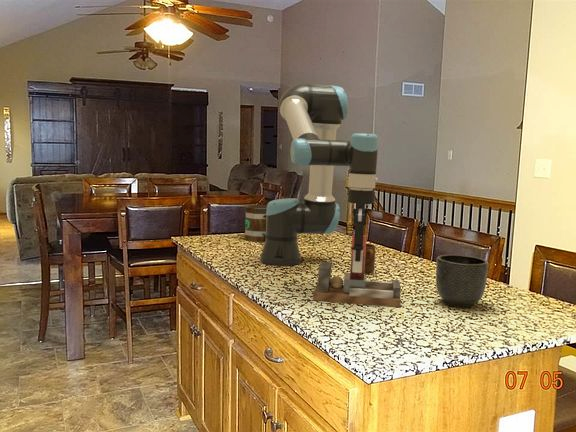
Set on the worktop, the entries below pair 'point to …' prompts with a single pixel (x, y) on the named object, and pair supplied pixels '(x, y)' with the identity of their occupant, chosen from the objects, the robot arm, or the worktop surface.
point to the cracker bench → (357, 291)
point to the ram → (355, 278)
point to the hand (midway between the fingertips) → (357, 270)
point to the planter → (461, 279)
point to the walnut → (336, 282)
